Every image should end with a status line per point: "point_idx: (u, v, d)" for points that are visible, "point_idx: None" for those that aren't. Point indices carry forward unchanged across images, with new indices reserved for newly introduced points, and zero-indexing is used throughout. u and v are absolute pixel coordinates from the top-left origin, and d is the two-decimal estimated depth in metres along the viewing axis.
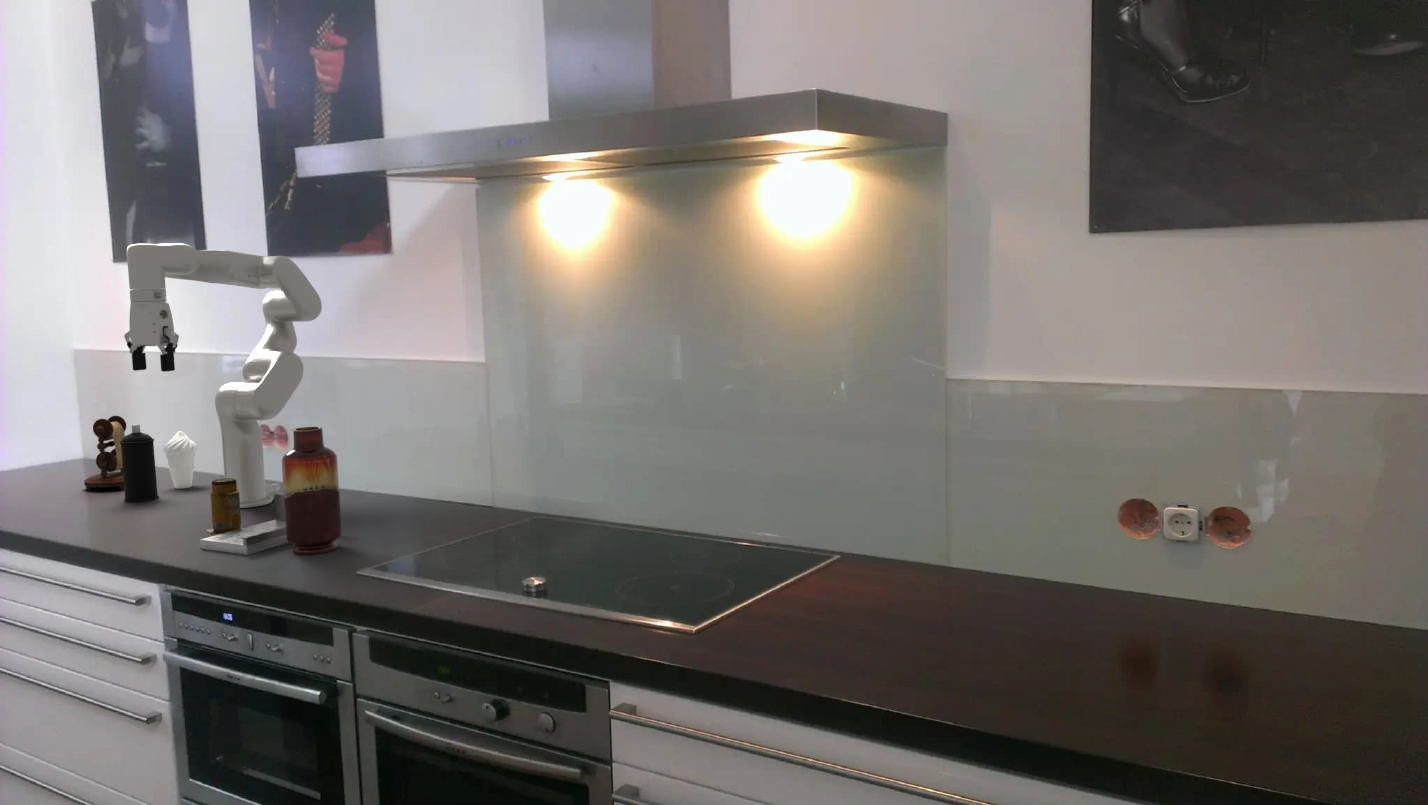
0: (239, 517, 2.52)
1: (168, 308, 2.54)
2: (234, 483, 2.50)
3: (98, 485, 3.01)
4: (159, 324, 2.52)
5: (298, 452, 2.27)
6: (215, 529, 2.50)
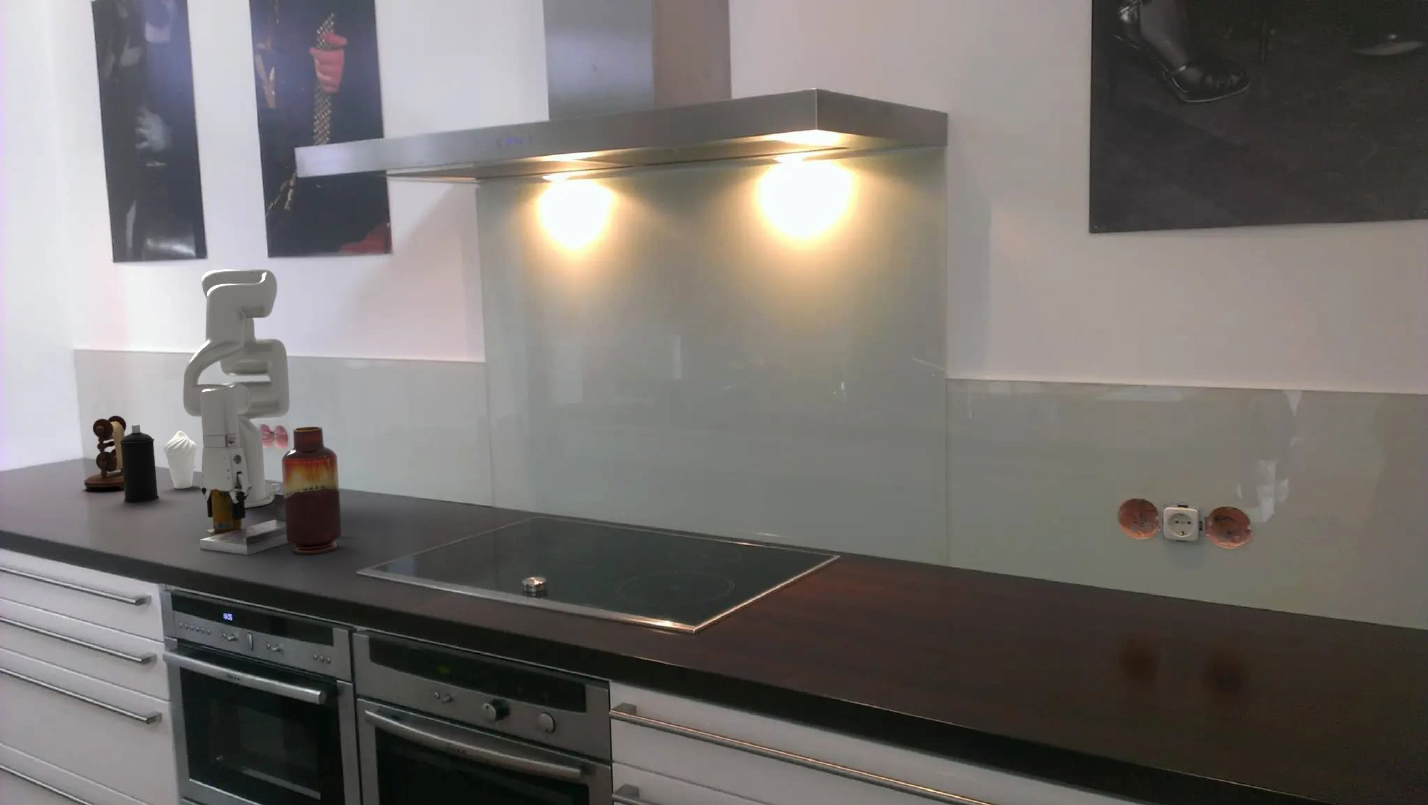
0: None
1: (242, 452, 2.49)
2: None
3: (98, 485, 3.01)
4: (233, 470, 2.46)
5: (298, 452, 2.27)
6: (216, 529, 2.49)
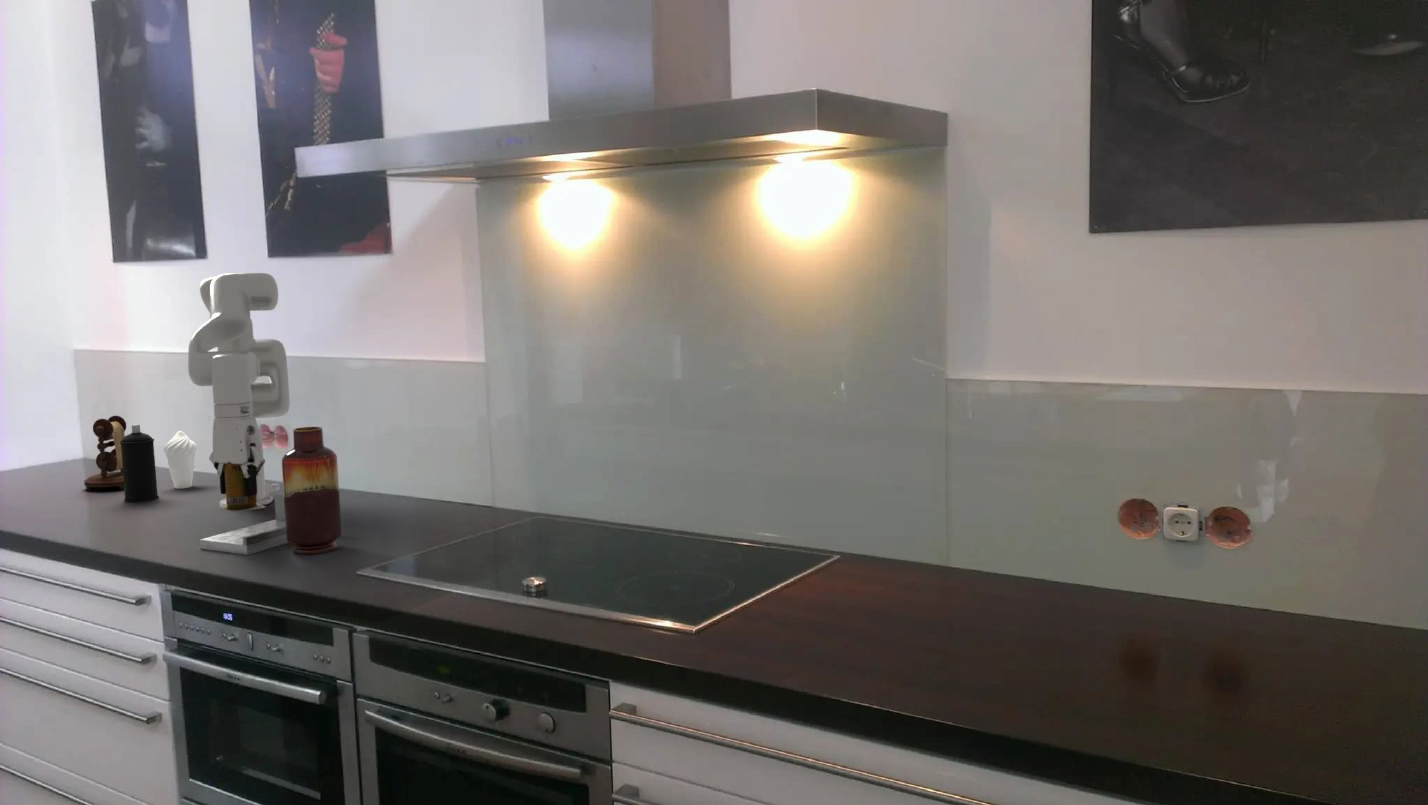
0: None
1: (255, 423, 2.33)
2: None
3: (98, 485, 3.01)
4: (246, 442, 2.31)
5: (298, 452, 2.27)
6: (229, 505, 2.34)
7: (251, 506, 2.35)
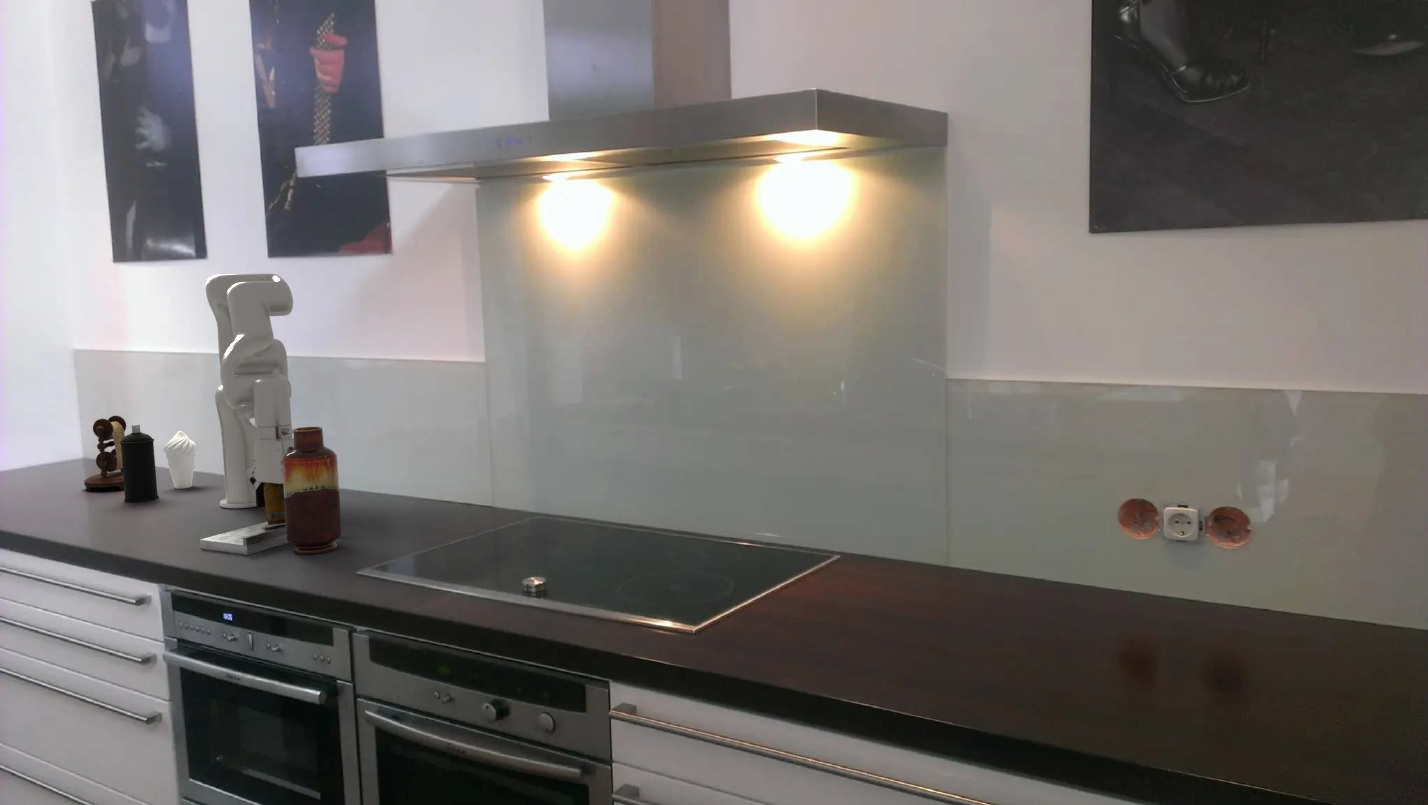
0: None
1: None
2: None
3: (98, 485, 3.01)
4: None
5: (298, 452, 2.27)
6: (269, 521, 2.43)
7: None
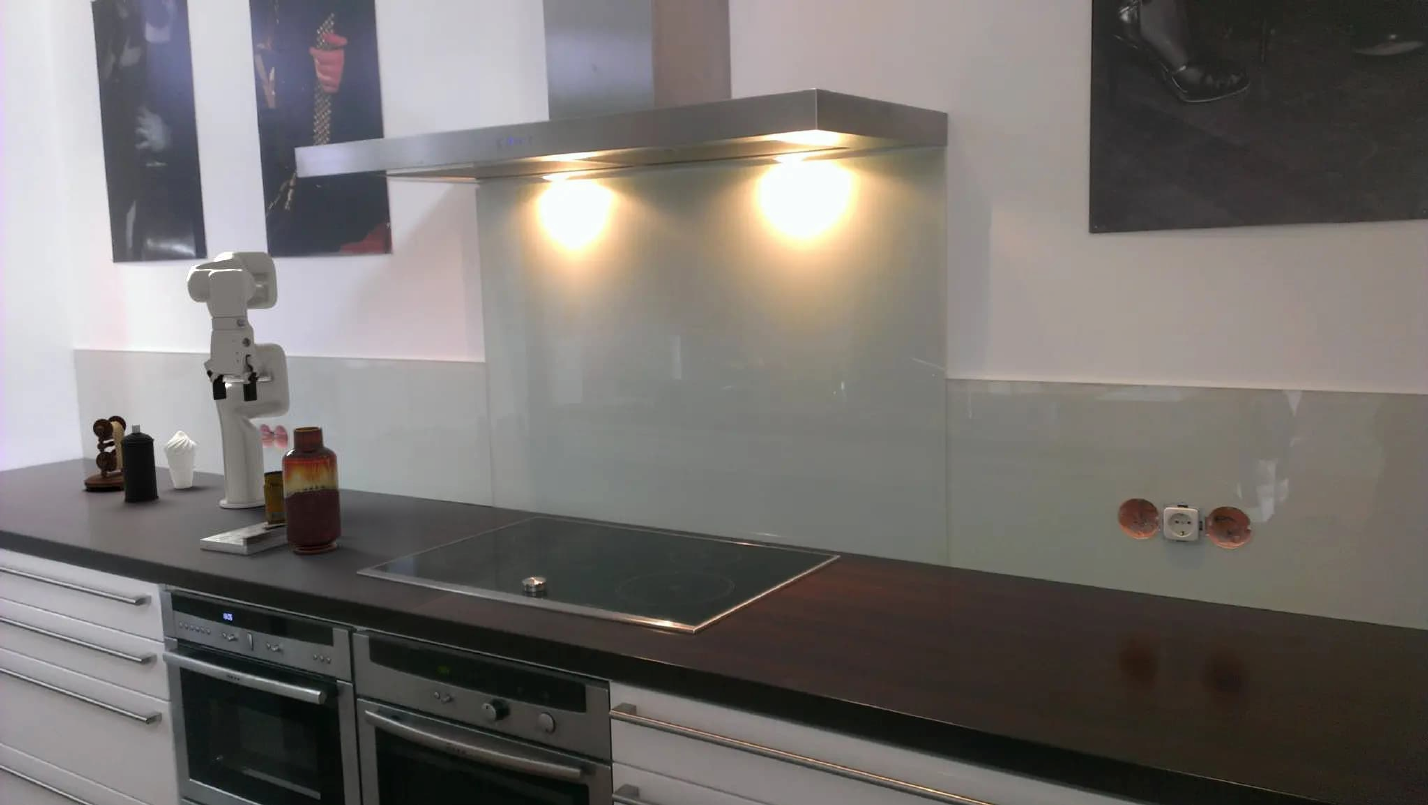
0: None
1: (251, 336, 2.46)
2: None
3: (98, 485, 3.01)
4: (242, 353, 2.44)
5: (298, 452, 2.27)
6: (269, 521, 2.43)
7: None
